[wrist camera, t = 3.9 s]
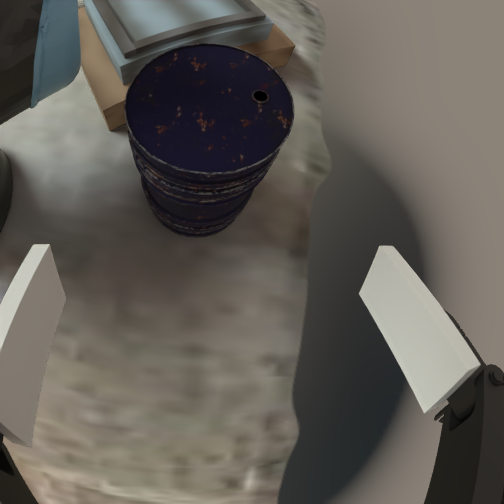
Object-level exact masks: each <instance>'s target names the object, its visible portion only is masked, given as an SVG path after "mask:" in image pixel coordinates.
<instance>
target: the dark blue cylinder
mask: <svg viewBox="0 0 504 504" xmlns="http://www.w3.org/2000/svg"><path fill="white" fill-rule="evenodd" d="M124 113H125V120H126V123H127V127H128V134H129V142H130V145H131V149H132V152H133V157H134V160H135V164H136V166H137V168H138V170H139V172H140V174H141V181H142V187H143V190H144V193H145V195H146V197H147V200H148V203H149V205H150V206H151V209H152V211H153V213H154V215H155V216H156V218H157V219H158V220H159V221H160V223H161V224H163V225H164V226H165V227H166V228H167V229H169V230H171V231H172V232H174V233H177V234H179V235H182V236H186V237H194V238H196V237H206V236H211V235H213V234H216V233H218V232H220V231H222V230H224V229H225V228H226V227H227V226H229V225H230V224H231V223H232V222H233V221H234V220H235V218H236V217H237V216H238V215H239V214H240V212H241V211H242V210H243V208H244V207H245V205H246V203H247V202H248V200H249V198H250V197H251V195H252V193H253V190H254V188H255V187H256V186H257V185H258V184H259V182H260V181H261V180H262V179H263V178H264V176H265V175H266V173H267V172H268V169H269V168H270V166H271V165H272V163H273V162H274V160H275V159H276V157H277V155H278V152H279V150H280V148H281V146H282V145H283V143H284V142H285V140H286V139H287V137H288V136H289V133H290V131H291V128H292V125H293V120H294V103H293V99H292V95H291V93H290V90H289V88H288V86H287V84H286V83H285V81H284V79H283V78H282V77H281V76H280V74H279V73H278V72H277V71H276V70H275V69H274V68H273V67H272V66H271V65H269V64H268V63H267V62H265V61H264V60H263V59H261V58H260V57H258V56H256V55H254V54H252V53H250V52H248V51H245V50H243V49H240V48H237V47H233V46H229V45H223V44H216V43H199V44H190V45H185V46H180V47H177V48H174V49H171V50H168V51H166V52H164V53H162V54H160V55H158V56H157V57H155V58H154V59H152V60H151V61H149V62H148V63H147V64H146V65H145V66H143V67H142V68H141V69H140V71H139V72H138V73H137V74H136V75H135V77H134V78H133V80H132V82H131V83H130V85H129V87H128V90H127V93H126V96H125V103H124Z"/></svg>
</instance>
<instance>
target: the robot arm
mask: <svg viewBox="0 0 504 504" xmlns="http://www.w3.org/2000/svg"><path fill="white" fill-rule="evenodd" d="M80 66H81V45H80V31H79V17H78V1H77V0H0V125H1V124H3V123H4V122H6V121H8V120H9V119H11V118H12V117H14V116H16V115H17V114H19V113H21V112H23V111H24V110H26V109H28V108H31V109H32V108H34V107H35V106H36V105H37V104H38V102H39V101H41V100H43V99H45V98H46V97H48V96H50V95H52V94H53V93H55V92H57V91H59V90H61V89H63V88H64V87H66V86H68V85H69V84H70V83H71V82H72V81H73V80H74V79H75V77H76V76H77V74H78V72H79V69H80ZM12 185H13V180H12V170H11V166H10V163H9V160H8V158H7V157H6V155H5V154H4V152H3V151H2V150H1V149H0V231H1V229H2V227H3V225H4V222H5V220H6V217H7V214H8V210H9V206H10V202H11V196H12ZM359 295H360V296H361V298H362V300H363V301H364V303H365V305H366V306H367V308H368V310H369V312H370V313H371V315H372V317H373V318H374V320H375V322H376V324H377V325H378V327H379V329H380V331H381V332H382V334H383V336H384V338H385V340H386V341H387V343H388V345H389V347H390V349H391V350H392V352H393V354H394V356H395V358H396V360H397V362H398V363H399V365H400V367H401V369H402V371H403V373H404V374H405V377H406V379H407V380H408V382H409V384H410V386H411V388H412V390H413V392H414V394H415V396H416V398H417V400H418V402H419V404H420V406H421V408H422V410H423V412H424V413H426V412H429V411H431V410H433V409H435V408H438V407H439V406H440V405H441V404H442V403H443V402H444V401H445V400H448V402H449V404H448V405H447V406H445V407H444V408H443V409H442V410H441V411H440V412H439V413H438V414H437V415H436V416H435V418H434V420H437V419H438V418H440V417H441V416H442V415H443V414H444V416H443V417H442V418H441V419H440V420H439V422H441V423H443V425H442V431H441V437H440V442H439V447H438V452H437V457H436V461H435V465H434V470H433V474H432V477H431V481H430V485H429V488H428V492H427V496H426V499H425V502H424V504H504V373H503V371H502V370H501V369H500V368H499V367H497V366H496V365H492V364H490V365H487V366H486V364H485V363H484V362H483V360H482V359H481V357H480V356H479V354H478V353H477V351H476V349H475V348H474V346H473V345H472V343H471V342H470V341H469V339H468V338H467V337H466V336H465V333H464V332H463V331H462V329H460V326H459V325H458V323H457V322H456V320H455V319H454V318H453V317H452V316H451V315H450V314H449V313H448V312H447V311H445V310H444V309H443V308H442V307H441V306H440V304H439V303H438V302H437V301H436V299H435V298H434V297H433V295H432V294H431V293H430V291H429V290H428V289H427V287H426V286H425V285H424V283H423V282H422V281H421V280H420V278H419V277H418V276H417V275H416V273H415V272H414V271H413V270H412V269H411V267H410V266H409V265H408V263H407V262H406V261H405V260H404V259H403V257H402V256H401V255H400V254H399V253H398V251H397V250H396V249H395V248H394V247H393V246H379V248H378V251H377V253H376V256H375V258H374V260H373V263H372V265H371V268H370V270H369V272H368V275H367V277H366V279H365V281H364V284H363V286H362V288H361V290H360V293H359ZM65 302H66V296H65V293H64V290H63V287H62V284H61V281H60V278H59V275H58V272H57V268H56V265H55V261H54V258H53V254H52V251H51V247H50V244H33V246H32V248H31V249H30V251H29V253H28V254H27V256H26V258H25V259H24V261H23V263H22V264H21V266H20V268H19V270H18V272H17V273H16V275H15V277H14V279H13V281H12V283H11V284H10V286H9V288H8V290H7V292H6V294H5V296H4V298H3V300H2V302H1V304H0V504H38V502H37V501H36V499H35V498H34V496H33V494H32V493H31V491H30V490H29V488H28V486H27V485H26V483H25V481H24V480H23V478H22V476H21V474H20V473H19V471H18V469H17V467H16V465H15V463H14V461H13V460H12V458H11V456H10V454H9V452H8V450H7V448H6V446H5V445H4V443H3V436H5V437H6V438H7V439H8V440H10V441H11V442H12V443H16V444H19V445H23V446H27V447H31V446H32V438H33V431H34V424H35V418H36V412H37V407H38V401H39V396H40V391H41V387H42V382H43V378H44V374H45V369H46V365H47V361H48V358H49V354H50V350H51V346H52V343H53V339H54V336H55V333H56V329H57V326H58V323H59V320H60V317H61V313H62V310H63V307H64V305H65Z"/></svg>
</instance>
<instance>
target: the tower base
mask: <svg viewBox="0 0 504 504" xmlns="http://www.w3.org/2000/svg"><path fill="white" fill-rule="evenodd" d="M83 1H84V7H82V8H80V9H78V17H79V31H80V45H81V66H82V69H83V71H84V74H85V76H86V78H87V81H88V83H89V86H90V88H91V90H92V93H93V95H94V97H95V99H96V102H97V104H98V106H99V108H100V111H101V113H102V115H103V117H104V119H105V122H106V124H107V126H108V128H109V130H110V131H111V130H113V129H115V128H117V127H119V126H121V125H123V124H125V123H126V120H125V113H124V103H125V96H126V93H127V90H128V87H129V85H130V83H131V82H132V80H133V78H134V77H135V75H136V74H137V73H138V72H139V71H140V69H141V68H142V67H143V66H145V65H146V64H147V63H148V62H149V61H151V60H152V59H154V58H155V57H157V56H158V55H160V54H162V53H164V52H166V51H168V50H171V49H174V48H177V47H180V46H185V45H190V44H199V43H216V44H223V45H229V46H233V47H237V48H240V49H243V50H245V51H248V52H250V53H252V54H254V55H256V56H258V57H260V58H261V59H263V60H264V61H265V62H267V63H268V64H269V65H271V66H272V67H273V68H276V67H280V66H284V65H286V64H287V62H288V60H289V58H290V56H291V54H292V52H293V50H294V48H295V46H296V45H295V44H294V43H293V42H292V41H291V40H290V39H289V38H288V37H287V36H286V35H285V34H284V33H283V32H282V31H281V30H280V29H279V28H278V27H277V26H276V25H275V24H274V22H273V21H272V20H271V19H270V18H269V17H267V16H266V14H265V13H263V12H262V11H261V10H260V9H259V8H258V7H257V6H256V5H255V4H254V3H253V2H251V1H250V0H83Z"/></svg>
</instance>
